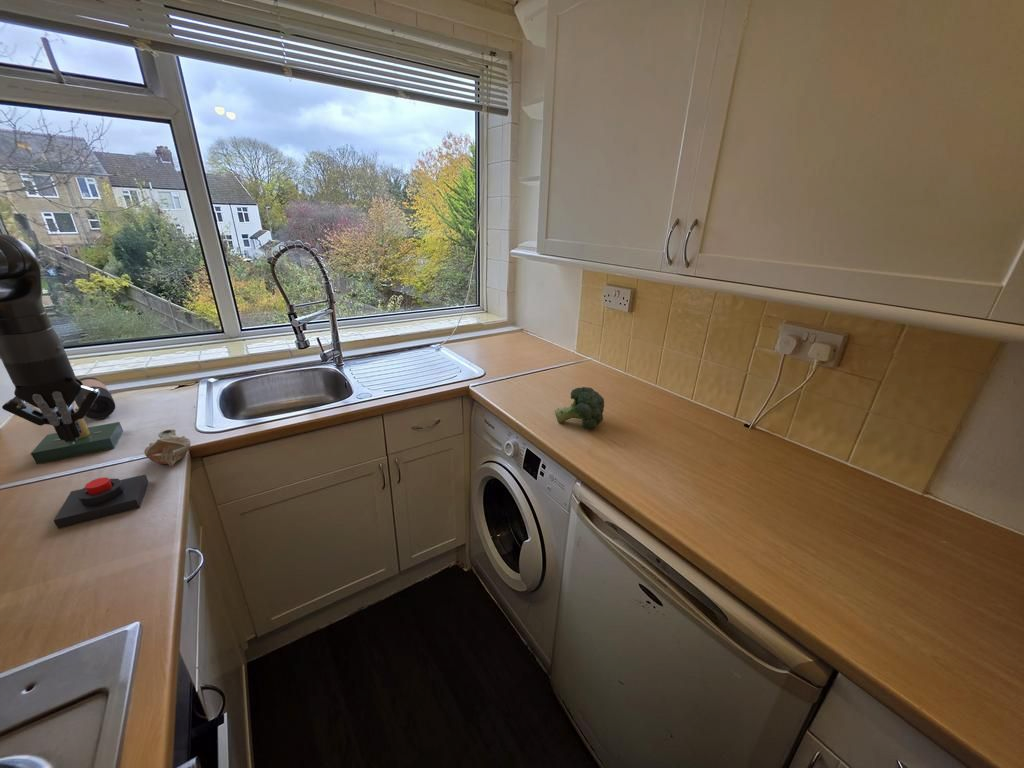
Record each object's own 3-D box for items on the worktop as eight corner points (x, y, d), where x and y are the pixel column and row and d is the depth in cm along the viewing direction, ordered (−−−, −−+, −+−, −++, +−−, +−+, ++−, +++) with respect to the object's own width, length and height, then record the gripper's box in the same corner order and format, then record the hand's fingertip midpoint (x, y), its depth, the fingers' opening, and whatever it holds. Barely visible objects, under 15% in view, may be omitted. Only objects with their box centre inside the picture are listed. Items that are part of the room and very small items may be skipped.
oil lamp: (148, 484, 90) (132, 446, 86) (149, 444, 105) (136, 410, 101) (196, 470, 95) (183, 433, 91) (190, 434, 110) (179, 401, 106)
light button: (85, 497, 80) (82, 490, 79) (91, 487, 83) (87, 480, 82) (110, 491, 82) (106, 484, 81) (114, 482, 85) (111, 475, 84)
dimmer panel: (36, 464, 96) (30, 452, 95) (51, 444, 104) (46, 434, 103) (114, 448, 103) (109, 437, 102) (123, 431, 111) (119, 421, 110)
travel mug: (80, 422, 114) (72, 402, 125) (118, 417, 119) (107, 398, 131) (76, 396, 112) (68, 378, 124) (115, 392, 117) (104, 375, 129)
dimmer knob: (87, 437, 102) (77, 415, 99) (63, 442, 100) (52, 419, 97) (92, 430, 105) (82, 408, 103) (68, 434, 103) (57, 412, 100)
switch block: (58, 529, 77) (48, 512, 75) (75, 499, 85) (67, 484, 83) (139, 508, 83) (133, 492, 81) (148, 482, 91) (142, 467, 89)
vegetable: (557, 402, 127) (603, 386, 122) (567, 441, 122) (615, 426, 118) (544, 392, 117) (593, 375, 112) (554, 435, 112) (606, 418, 107)
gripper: (91, 344, 78) (122, 423, 84) (-11, 353, 71) (32, 439, 78) (78, 355, 72) (113, 440, 78) (-34, 367, 65) (14, 458, 72)
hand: (72, 439), depth 78 cm, fingers closed
